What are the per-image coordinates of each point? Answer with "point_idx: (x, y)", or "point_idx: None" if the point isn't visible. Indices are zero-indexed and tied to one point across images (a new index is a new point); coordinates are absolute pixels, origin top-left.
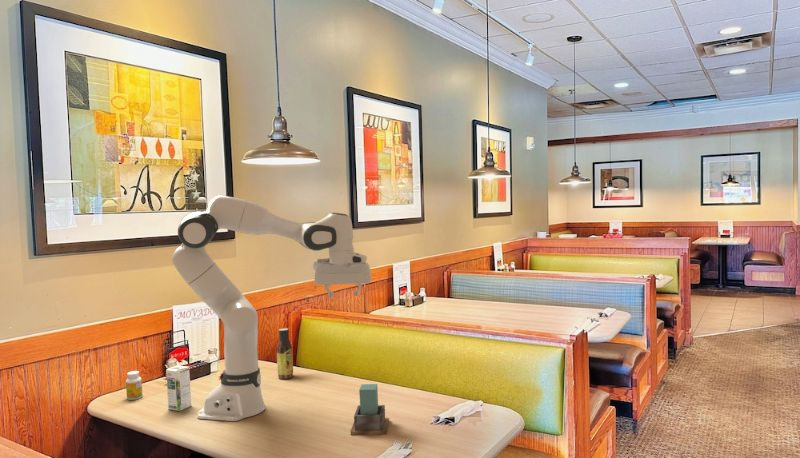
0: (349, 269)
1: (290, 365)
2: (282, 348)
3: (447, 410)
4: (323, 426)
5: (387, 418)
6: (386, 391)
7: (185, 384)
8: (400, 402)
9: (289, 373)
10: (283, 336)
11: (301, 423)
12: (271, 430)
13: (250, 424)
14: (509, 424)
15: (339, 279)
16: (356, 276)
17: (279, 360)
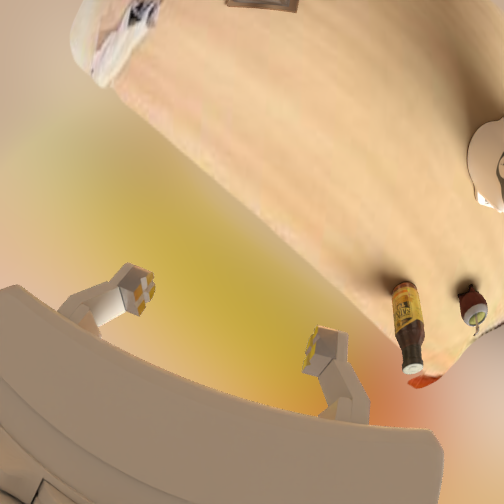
0: (49, 461)
1: (400, 301)
2: (418, 328)
3: (132, 48)
4: (362, 10)
5: (230, 3)
6: (225, 150)
7: None
8: (202, 87)
9: (401, 288)
10: (416, 352)
11: (406, 40)
12: (456, 39)
13: (489, 87)
14: (79, 13)
15: (196, 433)
16: (30, 364)
17: (420, 311)
